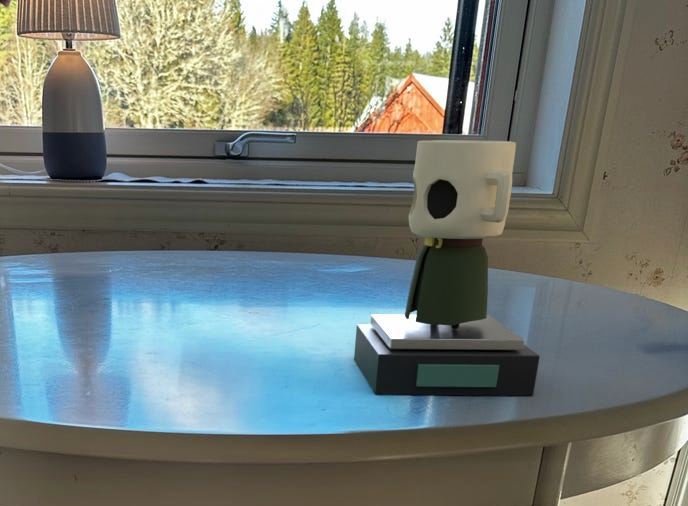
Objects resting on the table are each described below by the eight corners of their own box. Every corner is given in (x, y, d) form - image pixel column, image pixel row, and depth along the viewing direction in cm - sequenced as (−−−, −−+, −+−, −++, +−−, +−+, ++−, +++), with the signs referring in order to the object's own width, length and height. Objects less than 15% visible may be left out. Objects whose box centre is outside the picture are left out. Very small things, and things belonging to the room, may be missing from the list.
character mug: (368, 317, 79) (383, 139, 72) (440, 311, 81) (461, 139, 75) (447, 342, 70) (472, 143, 64) (525, 335, 72) (556, 142, 66)
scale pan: (488, 325, 80) (490, 315, 80) (523, 350, 72) (525, 339, 71) (370, 324, 80) (371, 314, 80) (390, 349, 72) (391, 338, 71)
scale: (491, 360, 83) (497, 325, 81) (534, 396, 72) (541, 356, 71) (353, 359, 83) (356, 323, 81) (375, 395, 72) (379, 355, 70)
